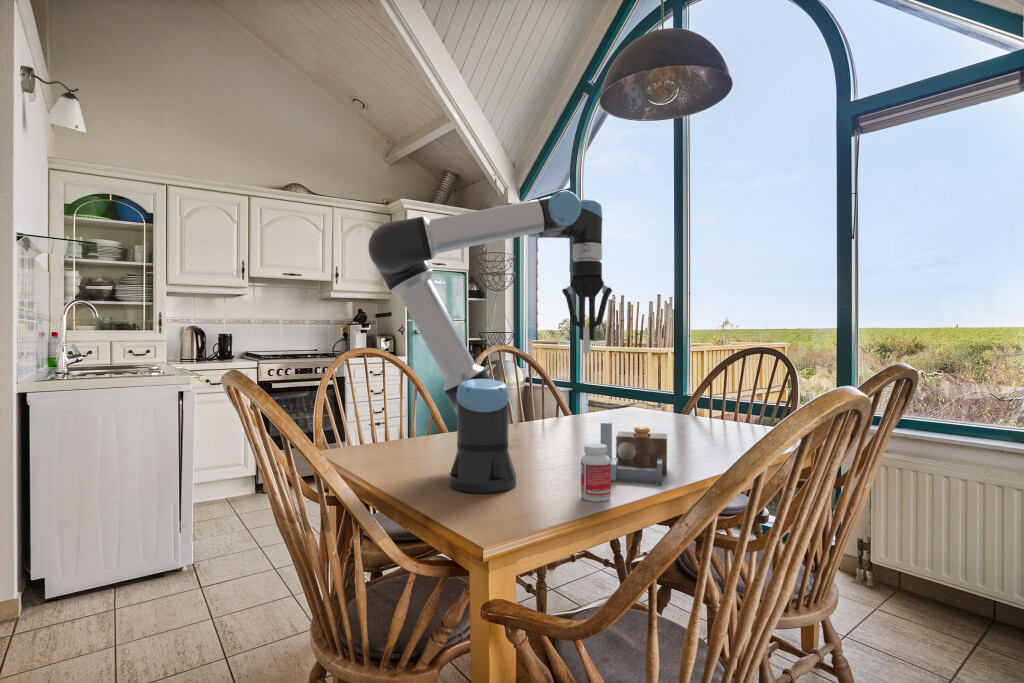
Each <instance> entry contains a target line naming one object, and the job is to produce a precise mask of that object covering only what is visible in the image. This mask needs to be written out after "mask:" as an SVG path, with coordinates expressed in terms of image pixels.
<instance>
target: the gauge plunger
mask: <svg viewBox="0 0 1024 683" xmlns="http://www.w3.org/2000/svg"><path fill="white" fill-rule="evenodd" d="M633 432H636V436H643V437H648V433H651V428H650V427H646V426H635V427H633Z"/></svg>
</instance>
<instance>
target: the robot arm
mask: <svg viewBox="0 0 1024 683" xmlns="http://www.w3.org/2000/svg"><path fill="white" fill-rule="evenodd" d="M602 210H603V208H602V204H601V202H600V201H598V200H597V199H591V198H589V199H587V198H585V199H579V197H578V196H577V195H576V194H575V193H574V192H572V191H569V190H560V191H558V192H556V193H554V194H553V195H552V196H547V197H543V198H539V199H532V200H527V201H521V202H516V203H511V204H506V205H501V206H495V207H490V208H485V209H484V208H483V209H480V210H474V211H470V212H465V213H459V214H454V215H448V216H443V217H438V218H432V219H428V218H427V217H425V216H418V217H412V218H407V219H399V220H395V221H389V222H386V223H383V224H381V225H379V226H378V227H377V228H376V229H374V230H373V232H372V234H371V236H370V238H369V240H368V246H367V247H368V254H369V257H370V259H371V261H372V263H373V264H374V265H375V266H376V268H377V270H378V271H379V273H380V275H381V277H382V279H383V281H384V282H385V285H386V287H388V290H389V291H390V293H392V294H395V295H398V296H399V297H400V299H401V301H402V303H403V305H404V306H405V308H406V310H407V312H408V314H409V316H410V317H411V319H412V322H413V323H414V325H415V326H416V329H417V330H418V332H419V334H420V337H421V338H422V340H423V342H424V343H425V345H426V347H427V350H428V351H429V353H430V354H431V356H432V358H433V360H434V361H435V365H436V366H437V368H438V369H439V371H440V373H441V376H442V377H443V380H444V381H445V382H444V385H443V391H444V393H445V396H446V397H447V399H448V400H449V403H450V405H451V406H452V408H453V410H454V413H455V414H456V420H457V421H456V422H457V425H456V429H457V430H456V431H457V432H456V434H457V436H456V438H457V439H456V440H457V441H456V444H457V445H456V446H457V448H456V453H455V455H454V456H455V457H454V460H453V463H452V466H451V469H450V473H449V480H448V481H449V482H448V483H449V484H448V485H449V487H450V488H451V489H453V490H456V491H458V492H461V493H469V494H470V493H471V494H491V493H499V492H500V493H501V492H505V491H508V490H511V489H512V488H515V486H516V484H517V473H516V469H515V466H514V464H513V460H512V457H511V455H510V451H509V401H510V395H509V388H508V385H507V384H506V383H505V382H503V381H500V380H496V379H492V378H491V377H490V376H489V373H488V371H486V368H485V367H484V366H481V365H480V364H479V365H478V364H476V362H475V360H474V358H473V357H472V355H471V353H470V351H469V349H468V347H467V345H466V343H465V341H464V339H463V337H462V336H461V334H460V332H459V331H458V329H457V327H456V325H455V323H454V321H453V319H452V317H451V316H450V314H449V312H448V309H447V308H446V306H445V304H444V302H443V300H442V299H441V297H440V295H439V293H438V291H437V289H436V287H435V286H434V284H433V282H432V280H431V278H432V275H433V273H434V272H433V268H432V266H431V265H430V263H429V260H430V261H431V260H433V259H434V258H435V256H437V255H438V254H443V253H447V252H451V251H456V250H462V249H466V248H470V247H475V246H481V245H485V244H489V243H495V242H499V241H500V242H501V241H504V240H509V239H514V238H520V237H523V236H529V237H530V238H538V239H543V238H544V239H546V238H547V239H548V238H550V239H551V238H554V239H571V240H572V260H573V261H574V262H573V263H572V280H571V281H570V285H568V286H567V287H566V288H563V289H562V290H561V292H562V294H563V295H564V297H565V299H566V303H567V308H568V312H569V315H570V316H569V317H570V319H571V323H572V325H573V326H576V327H578V331H579V332H578V338H579V340H580V341H582V343H583V345H582V348H583V349H582V350H583V352H582V353H583V354H591V346H592V345H591V344H592V343H591V341H594V340H595V338H596V334H595V333H596V330H595V328H596V327H599V326H601V325H602V324H603V320H604V317H605V314H606V313H605V312H606V309H607V308H606V307H607V304H608V300H609V297H610V296H611V294H612V293H613V289H612V288H611V287H608V286H607V285H605V283H604V281H603V263H602V261H601V260H603V244H602V242H603V241H602V240H603V238H602V237H603V236H602V235H603V211H602ZM600 292H601V294H602V297H601V300H600V304H599V309H598V313H597V317H596V297H598V294H599V293H600ZM573 293H575V294H576V295H577V296H578V302H579V303H578V317H577V311H576V307H575V303H574V299H573ZM587 298H588V327H586V299H587Z"/></svg>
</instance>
